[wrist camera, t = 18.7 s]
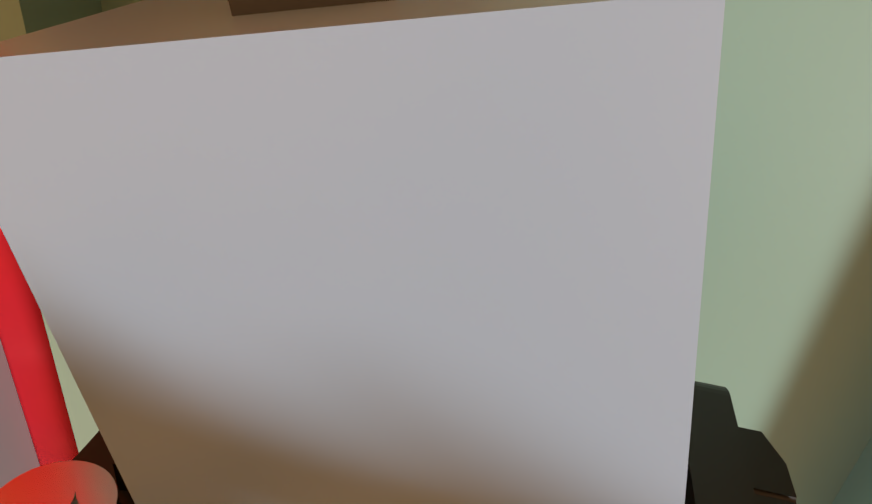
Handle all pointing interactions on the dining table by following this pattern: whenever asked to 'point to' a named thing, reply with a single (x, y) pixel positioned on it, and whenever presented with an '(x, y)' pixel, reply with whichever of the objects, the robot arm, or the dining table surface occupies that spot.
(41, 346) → the dining table surface
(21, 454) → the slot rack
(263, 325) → the tall grey bar
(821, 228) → the tray
